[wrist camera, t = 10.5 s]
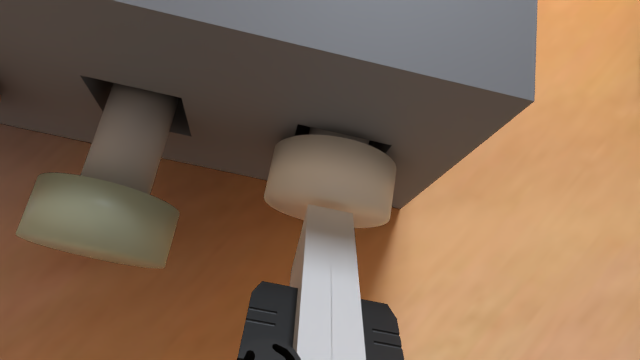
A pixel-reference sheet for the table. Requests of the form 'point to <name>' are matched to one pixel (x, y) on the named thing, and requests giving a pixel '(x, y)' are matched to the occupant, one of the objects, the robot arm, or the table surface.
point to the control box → (278, 74)
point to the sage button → (111, 188)
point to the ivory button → (331, 177)
